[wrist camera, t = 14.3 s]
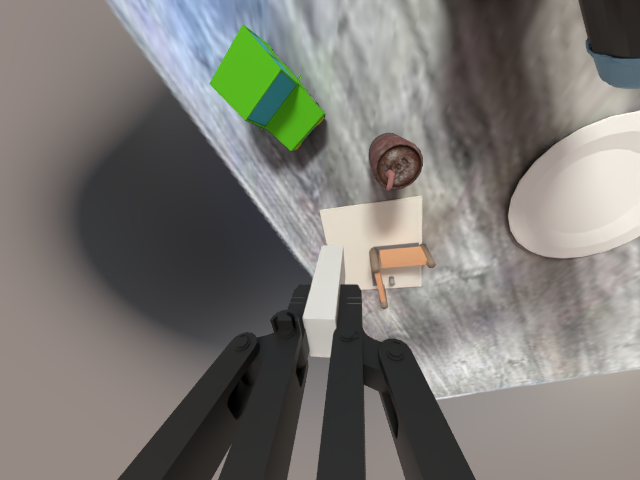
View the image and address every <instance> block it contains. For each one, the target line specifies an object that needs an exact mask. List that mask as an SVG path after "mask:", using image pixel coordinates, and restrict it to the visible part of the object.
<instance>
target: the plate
mask: <svg viewBox="0 0 640 480" xmlns="http://www.w3.org/2000/svg"><path fill="white" fill-rule="evenodd" d="M508 222H509V228H510V231H511V233H512V234H513V236H514V237H515V239H516V241H517V242H518V243H519V244H521V245H522V246H523V247H525V248H526V249H527V250H528V251H531V252H533V253H536V254H539V255H542V256H544V257H553V258H575V257H585V256H589V255H593V254H597V253H601V252H605V251H608V250H610V249H613V248H615V247H618V246H620V245H623V244H625V243H628V242H630V241H631V240H633V239H635V238H637V237H638V236H640V111H635V112H630V113H625V114H620V115H614V116H609V117H607V118H604V119H602V120H599V121H597V122H594V123H592V124H589V125H586V126H584V127H581V128H580V129H578V130H576V131H575V132H573V133H571V134H570V135H568V136H566V137H565V138H563V139H561V140H560V141H558V142H557V143H555V144H554V145H553V146H552V147H550V148H549V149H548V150H547V151H546V152H545V153H543V154H542V155H541V156H540V157H539V158H538V159H537V160H535V161H534V163H533V164H532V165H531V166H530V168H529V169H528V170H527V171H526V173H525V174H524V175H523V176H522V178H521V179H520V180H519V182H518V184H517V186H516V188H515V190H514V192H513V194H512V196H511V199H510V204H509V210H508Z"/></svg>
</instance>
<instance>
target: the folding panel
mask: <svg viewBox="0 0 640 480" xmlns="http://www.w3.org/2000/svg"><path fill="white" fill-rule="evenodd" d="M374 274H375V278H376V282H377V286H378V291H379V295H380V302H381V308H383V309H386V308H388V304H387V298H386V291H385V285H384V284H383V281H382V276H381V272H380V271H379V272H378V273H374Z"/></svg>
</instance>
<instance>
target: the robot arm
mask: <svg viewBox="0 0 640 480" xmlns="http://www.w3.org/2000/svg"><path fill="white" fill-rule="evenodd" d="M579 4H580V8H581V12H582V16H583V20H584V24H585V28H586V32H587V36H588V38H587V40H586V49H587V52H588V53H589V54H590V55H591V56H592V57H593V59H594V62H595V65H596V68H597V71H598V74H599V76H600V78H601V79H602V80H603V81H605V82H607V83H608V84H609V85H612V86H613V87H617V88H622V89H640V0H579ZM345 277H346V276H345V262H344V249H343V245H329V246H322V248H321V251H320V255H319V259H318V263H317V266H316V270H315V274H314V277H313V281H312V285H299V286H298V287H297V288H296V289H295V290H294V293H293V295H292V298H291V301H290V304H289V307H288V309H287V310H283V311H280V312H278V313H276V314H275V315H274V316H273V317H272V318H271V323H272V327H273V330H274V333H272V334H269V335H266V336H262V337H258V338H256V336H255V335H254V334H253V333H249V332H246V333H242V334H240V335H238V336H236V337H235V338H234V339H233V340H232V341H231V342H230V343H229V344H228V346H227V347H226V348H225V349H224V351H223V352H222V353H221V354H220V356H219V357H218V358H217V359H216V360H215V362H214V363H213V364H212V365H211V366H210V368H209V369H208V370H207V371H206V372H205V374H204V375H203V376H202V378H201V379H200V380H199V381H198V382H197V383H196V385H195V386H194V387H193V388H192V390H191V391H190V392H189V393H188V394H187V396H186V397H185V398H184V399H183V400H182V402H181V403H180V404H179V405H178V407H177V408H176V409H175V410H174V411H173V413H172V414H171V415H170V417H169V418H168V419H167V420H166V421H165V422H164V424H163V425H162V426H161V427H160V429H159V430H158V431H157V432H156V433H155V435H154V436H153V437H152V438H151V440H150V441H149V442H148V443H147V444H146V446H145V447H144V448H143V449H142V450H141V452H140V453H139V454H138V455H137V457H136V458H135V459H134V460H133V462H132V463H131V464H130V465H129V466H128V467H127V469H126V470H125V471H124V473H123V474H122V475H121V476H120V477H119V479H118V480H211V479H212V477H213V476H214V474H215V472H216V470H217V468H218V467H219V465H220V463H221V461H222V460H223V458H224V456H225V455H226V453H227V451H228V449H229V447H230V446H231V447H230V450H229V453H228V455H227V458H226V461H225V463H224V466H223V468H222V471H221V474H220V476H219V479H218V480H287V476H288V471H289V466H290V461H291V455H292V450H293V445H294V440H295V434H296V429H297V424H298V419H299V414H300V408H301V403H302V398H303V393H304V387H305V382H306V377H307V372H308V360H307V358H308V353H309V352H310V356H315V357H330V365H329V374H328V383H327V391H326V401H325V409H324V417H323V426H322V435H321V444H320V452H319V453H320V454H319V461H318V471H317V479H316V480H366V469H365V467H366V466H365V424H364V423H365V419H364V385H366V386H368V387H371V388H373V389H375V390H377V391H379V394H380V397H381V400H382V404H383V407H384V410H385V414H386V417H387V420H388V423H389V427H390V430H391V433H392V437H393V440H394V443H395V446H396V449H397V453H398V456H399V459H400V463H401V466H402V470H403V473H404V476H405V479H406V480H476V479H475V477H474V475H473V473H472V471H471V469H470V467H469V465H468V463H467V461H466V459H465V458H464V455H463V453H462V451H461V449H460V447H459V445H458V443H457V441H456V439H455V437H454V435H453V433H452V431H451V429H450V427H449V425H448V423H447V421H446V419H445V417H444V415H443V413H442V411H441V409H440V408H439V405H438V403H437V401H436V399H435V397H434V395H433V393H432V391H431V389H430V387H429V385H428V383H427V381H426V379H425V377H424V375H423V373H422V371H421V369H420V367H419V365H418V363H417V361H416V359H415V357H414V355H413V353H412V351H411V349H410V348H409V347H408V345H407V344H405V343H404V342H402V341H401V340H398V339H387V340H384V341H383V342H380V341H377V340H374V339H372V338H370V337H369V336H368V335H367V334H366V333H365V332H364V330H363V327H362V295H361V289H360V287H359V286H358V284H345ZM231 444H232V445H231Z"/></svg>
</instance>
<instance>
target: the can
mask: <svg viewBox="0 0 640 480" xmlns="http://www.w3.org/2000/svg"><path fill="white" fill-rule="evenodd" d="M369 158H370V162H371V166H372V170H373V173H374V176H375V178H376V180H377V181H378V182H379V183H380V184H381V185H382V186H383V187H385V189H386V190H387V191H389V190H391V189H395V190H396V189H402V188H404V187H407V186H409V185H410V184H411V183H413V182H414V181H415V180H416V179H417V177H418V176H419V174H420V173H421V169H422V166H423V157H422V154H421V151H420V149H419V148H418V147H417V146H416V145H415V144H413V143H411V142H409V141H407V140H406V139H404V138H402V137H400V136H398V135H396V134H394V133H385V134H382V135H380V136H378V137H377V138H376V139H375V140H374V141H373V142H372V144H371V146H370V149H369Z"/></svg>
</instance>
